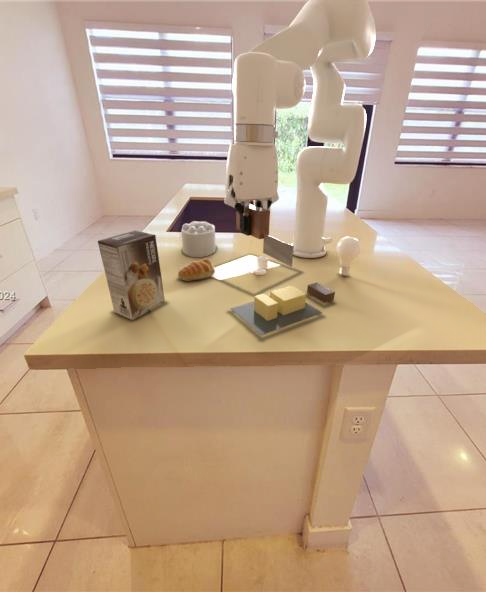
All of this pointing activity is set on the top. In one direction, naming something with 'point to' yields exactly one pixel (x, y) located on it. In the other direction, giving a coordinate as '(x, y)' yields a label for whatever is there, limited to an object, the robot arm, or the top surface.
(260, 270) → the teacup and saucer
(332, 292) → the knife rest
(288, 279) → the top surface
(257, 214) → the knife
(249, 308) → the butter dish
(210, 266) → the pastry
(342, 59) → the robot arm
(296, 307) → the butter block
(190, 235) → the lumpy-topped squat cylinder
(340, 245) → the lightbulb
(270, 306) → the butter slice
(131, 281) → the coffee box
